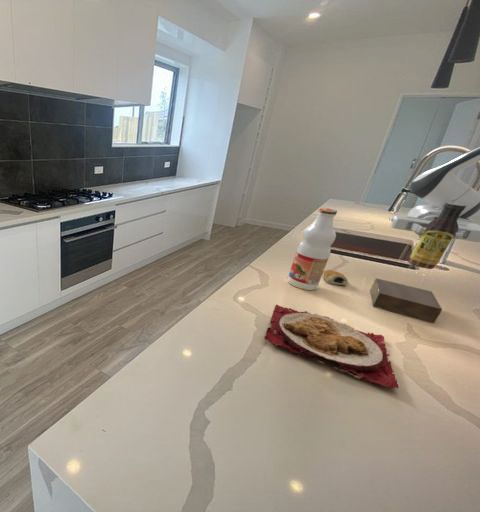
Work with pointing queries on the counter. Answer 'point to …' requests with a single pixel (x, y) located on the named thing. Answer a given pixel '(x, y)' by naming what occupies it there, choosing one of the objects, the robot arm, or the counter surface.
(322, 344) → the plate with food
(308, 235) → the fruit juice
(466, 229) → the robot arm
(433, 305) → the riser
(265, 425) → the counter surface
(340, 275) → the pastry
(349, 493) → the counter surface
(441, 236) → the sauce bottle
